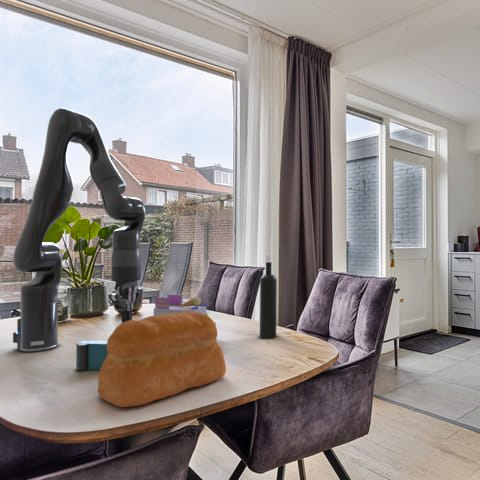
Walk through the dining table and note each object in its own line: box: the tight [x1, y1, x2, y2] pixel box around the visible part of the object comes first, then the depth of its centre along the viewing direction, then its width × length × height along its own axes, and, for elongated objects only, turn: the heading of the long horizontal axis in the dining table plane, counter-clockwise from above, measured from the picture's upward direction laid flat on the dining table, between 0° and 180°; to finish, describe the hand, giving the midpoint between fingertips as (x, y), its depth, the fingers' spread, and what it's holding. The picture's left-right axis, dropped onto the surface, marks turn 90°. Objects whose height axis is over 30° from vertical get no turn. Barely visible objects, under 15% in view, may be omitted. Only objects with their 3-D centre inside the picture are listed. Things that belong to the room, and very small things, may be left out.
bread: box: [97, 311, 227, 408], centre depth 97 cm, size 16×26×17 cm, turn 145°
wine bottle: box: [259, 252, 278, 340], centre depth 146 cm, size 6×6×30 cm
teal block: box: [75, 340, 108, 372], centre depth 110 cm, size 12×6×7 cm, turn 87°
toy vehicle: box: [153, 294, 217, 326], centre depth 140 cm, size 9×20×15 cm, turn 78°
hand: (126, 322), depth 120 cm, fingers closed
